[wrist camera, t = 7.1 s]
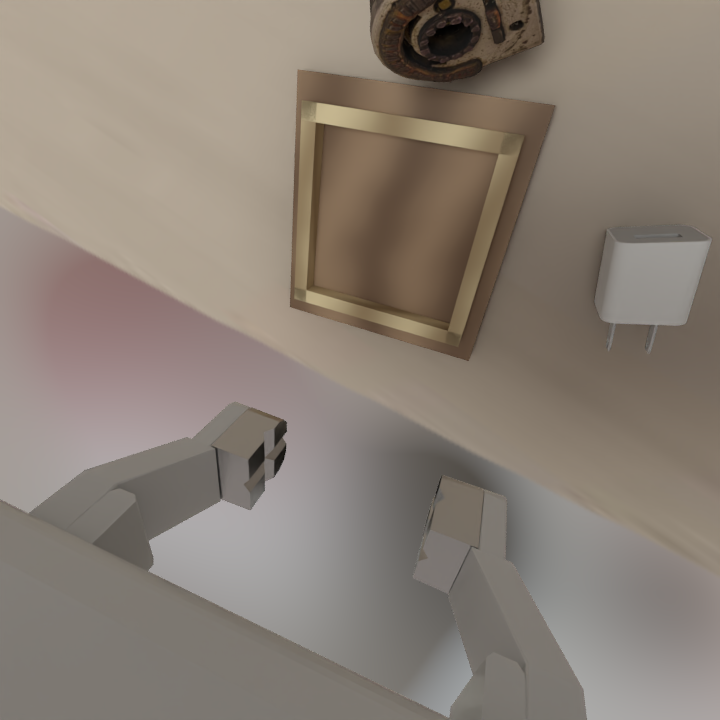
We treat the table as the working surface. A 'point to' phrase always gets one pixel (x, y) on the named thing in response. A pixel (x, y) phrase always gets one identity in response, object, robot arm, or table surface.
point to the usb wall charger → (649, 276)
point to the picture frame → (406, 204)
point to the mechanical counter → (451, 35)
